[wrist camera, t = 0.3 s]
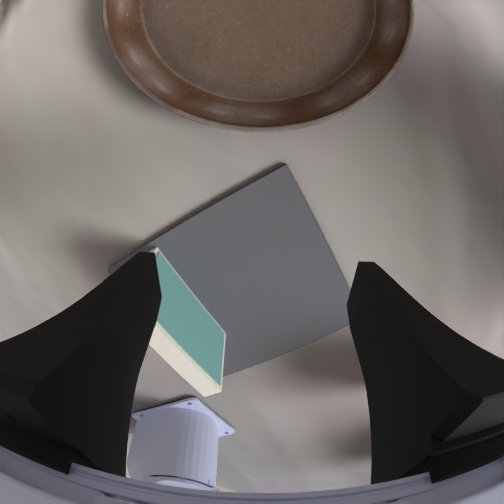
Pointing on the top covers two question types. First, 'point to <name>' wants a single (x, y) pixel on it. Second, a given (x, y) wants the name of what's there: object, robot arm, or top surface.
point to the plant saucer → (259, 56)
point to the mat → (259, 269)
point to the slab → (187, 333)
